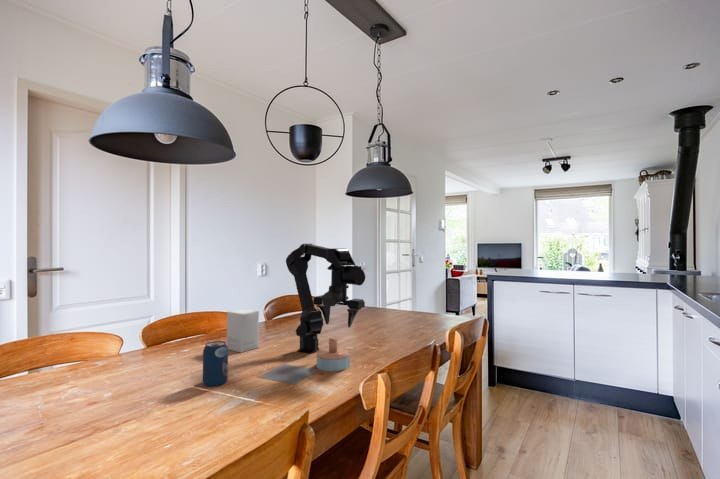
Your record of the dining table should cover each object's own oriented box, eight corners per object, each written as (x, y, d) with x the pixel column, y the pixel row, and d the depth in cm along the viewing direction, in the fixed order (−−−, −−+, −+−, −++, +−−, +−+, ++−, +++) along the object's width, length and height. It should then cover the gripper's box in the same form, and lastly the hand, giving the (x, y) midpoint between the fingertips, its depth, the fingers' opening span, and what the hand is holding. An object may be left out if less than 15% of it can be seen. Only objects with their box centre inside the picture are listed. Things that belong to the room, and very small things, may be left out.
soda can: (229, 385, 109) (230, 344, 109) (204, 390, 105) (204, 347, 106) (225, 378, 115) (226, 339, 115) (201, 382, 111) (201, 342, 112)
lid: (310, 357, 124) (310, 340, 124) (326, 348, 134) (326, 333, 134) (340, 361, 119) (340, 344, 120) (354, 352, 129) (354, 336, 130)
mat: (256, 378, 115) (256, 377, 115) (283, 365, 128) (283, 364, 128) (294, 385, 109) (294, 384, 109) (319, 371, 122) (319, 369, 122)
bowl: (310, 369, 124) (310, 357, 124) (326, 360, 134) (327, 348, 134) (340, 374, 119) (340, 361, 119) (354, 364, 129) (354, 352, 129)
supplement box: (259, 347, 149) (259, 310, 150) (241, 353, 142) (241, 313, 142) (244, 344, 154) (244, 308, 154) (225, 349, 147) (226, 311, 147)
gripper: (305, 283, 132) (304, 326, 132) (351, 286, 124) (350, 333, 124) (321, 280, 142) (321, 321, 142) (365, 283, 134) (364, 327, 133)
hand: (338, 325), depth 135 cm, fingers open, 9 cm apart
